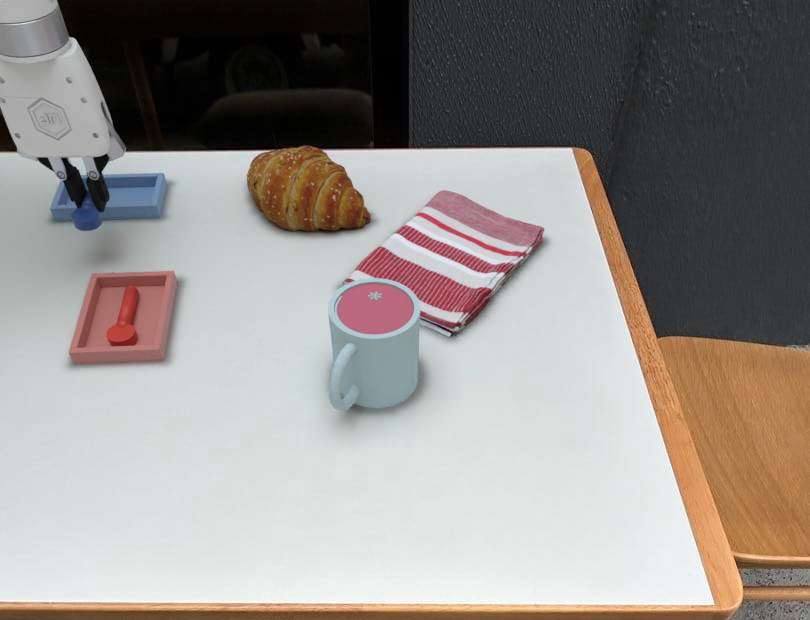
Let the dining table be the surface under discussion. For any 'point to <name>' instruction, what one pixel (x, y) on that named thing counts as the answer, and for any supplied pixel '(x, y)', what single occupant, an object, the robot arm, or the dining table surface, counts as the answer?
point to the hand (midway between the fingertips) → (93, 205)
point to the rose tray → (104, 313)
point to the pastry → (305, 190)
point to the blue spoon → (86, 215)
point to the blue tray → (120, 197)
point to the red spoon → (125, 321)
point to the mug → (373, 343)
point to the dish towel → (452, 258)
